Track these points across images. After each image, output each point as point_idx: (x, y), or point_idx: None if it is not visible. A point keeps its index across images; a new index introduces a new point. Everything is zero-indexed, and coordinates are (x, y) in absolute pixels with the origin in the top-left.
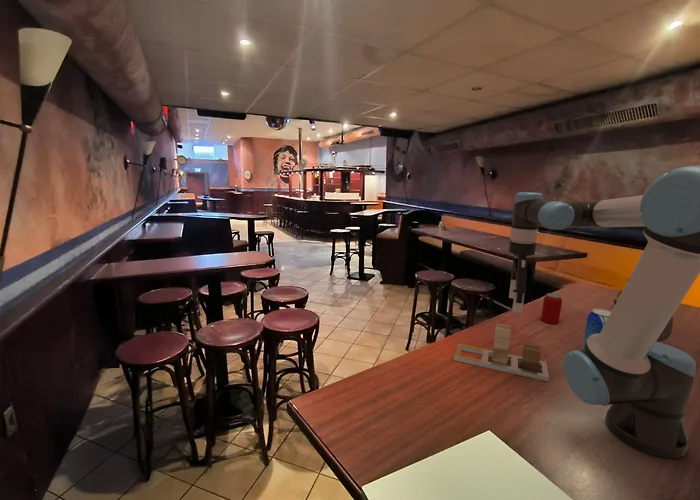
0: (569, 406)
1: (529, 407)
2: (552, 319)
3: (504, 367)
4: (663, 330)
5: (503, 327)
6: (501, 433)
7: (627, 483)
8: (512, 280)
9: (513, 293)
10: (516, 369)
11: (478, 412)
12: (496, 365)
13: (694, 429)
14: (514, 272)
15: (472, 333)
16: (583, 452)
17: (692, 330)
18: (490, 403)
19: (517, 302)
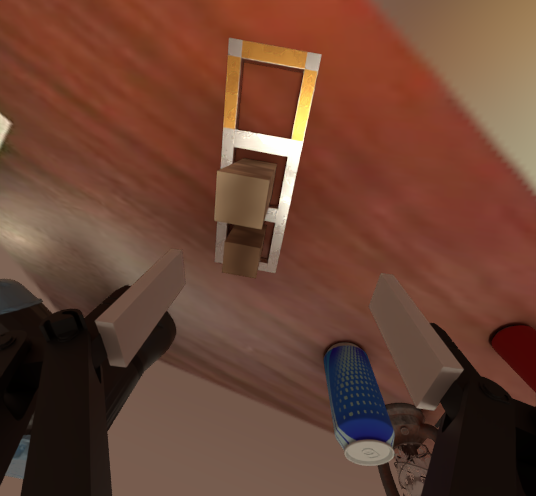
0: None
1: (119, 206)
2: (499, 344)
3: None
4: (384, 467)
5: (237, 201)
6: (17, 145)
7: (39, 275)
8: (438, 370)
9: (384, 307)
10: None
11: (45, 106)
12: (222, 167)
13: (179, 368)
14: (447, 481)
15: (433, 119)
16: (59, 250)
17: None
18: (88, 135)
19: (122, 291)
